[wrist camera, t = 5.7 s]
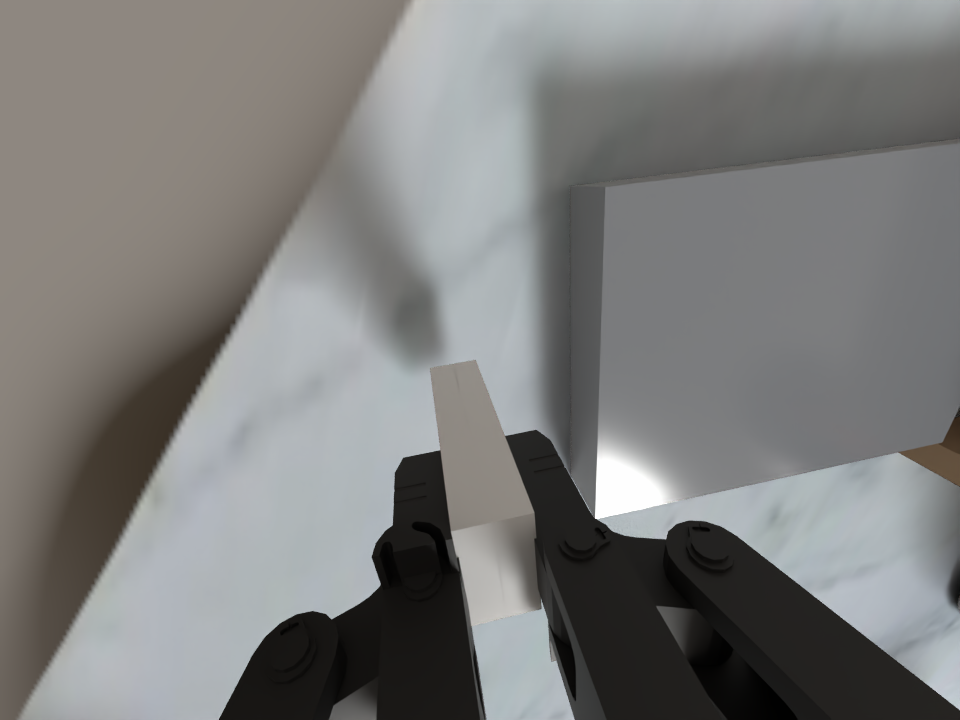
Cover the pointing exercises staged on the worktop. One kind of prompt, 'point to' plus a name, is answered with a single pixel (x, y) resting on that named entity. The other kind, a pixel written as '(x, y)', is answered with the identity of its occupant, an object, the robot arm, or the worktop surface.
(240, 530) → the worktop surface
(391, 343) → the worktop surface
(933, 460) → the walnut shelf
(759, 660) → the robot arm
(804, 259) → the slate board
